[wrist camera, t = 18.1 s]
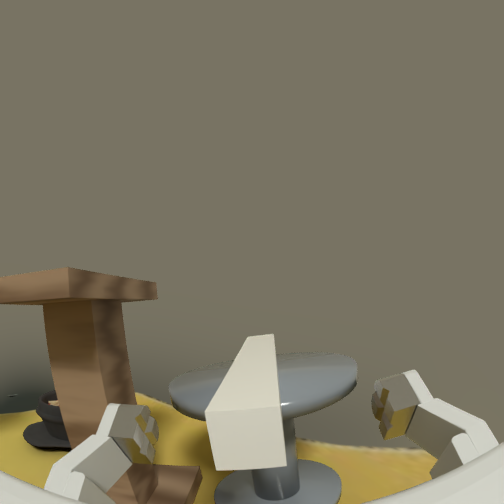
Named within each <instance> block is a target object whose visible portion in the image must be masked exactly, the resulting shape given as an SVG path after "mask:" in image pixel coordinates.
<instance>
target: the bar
mask: <svg viewBox="0 0 504 504" xmlns="http://www.w3.org/2000/svg"><path fill="white" fill-rule="evenodd" d="M205 417H206V423H207V428H208V433H209V438H210V443H211V448H212V453H213V458H214V462H215V467H216V470H247V469H262V468H273V467H283V466H287V462H286V451H285V440H284V430H283V419H282V409H281V399H280V389H279V379H278V369H277V359H276V351H275V342H274V335H273V334H268V335H261V336H251V337H247V339H246V341H245V343H244V344H243V346H242V348H241V350H240V352H239V353H238V355H237V357H236V359H235V360H234V362H233V364H232V366H231V367H230V369H229V371H228V372H227V374H226V376H225V378H224V379H223V381H222V383H221V385H220V386H219V388H218V390H217V391H216V393H215V395H214V397H213V398H212V400H211V402H210V403H209V405H208V407H207V408H206V410H205Z"/></svg>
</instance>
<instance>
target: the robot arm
mask: <svg viewBox="0 0 504 504" xmlns="http://www.w3.org/2000/svg"><path fill="white" fill-rule="evenodd" d="M374 388H375V390H376V392H375V393H374V394H373V395H372V401H371V402H372V410H373V414H374V416H375V418H376V419H377V420H379V421H380V425H379V429H380V432H381V434H382V437H383V439H384V440H388V439H392V438H395V437H398V436H402V435H405V434H406V435H405V436H406V437H408V438H409V439H410V440H412V441H413V442H414V443H416V444H417V445H419V446H420V447H421V448H423V449H424V450H426V451H427V452H428V453H430V454H431V455H433V456H434V457H435V458H437V459H438V461H437V462H436V463H435V465H434V466H433V468H432V469H431V471H430V474H431V477H432V480H429V481H427V482H424V483H422V484H419V485H417V486H414V487H412V488H409V489H406V490H404V491H401V492H398V493H395V494H392V495H389V496H386V497H383V498H379V499H376V500H373V501H369V502H365V503H362V504H504V442H502V443H501V444H498V442H497V440H496V439H495V437H494V435H493V434H492V432H491V431H490V429H489V428H488V426H487V424H486V422H485V421H484V420H482V419H480V418H478V417H475V416H473V415H471V414H469V413H467V412H465V411H463V410H461V409H459V408H457V407H454V406H452V405H450V404H448V403H446V402H444V401H442V400H440V399H438V398H436V399H433V397H432V395H431V394H430V392H429V390H428V389H427V387H426V385H425V384H424V382H423V381H422V379H421V377H420V376H419V374H418V373H417V371H416V370H411V371H407V372H404V373H400V374H396V375H393V376H389V377H385V378H382V379H378V380H377V381H376V382H375V385H374ZM150 412H151V411H150V410H149V408H148V406H143V405H128V404H115V403H110V404H109V405H108V406H107V407H106V410H105V412H104V415H103V417H102V420H101V422H100V425H99V427H98V430H97V433H96V435H91V436H90V437H89V438H87V439H86V440H85V441H84V442H82V443H81V444H80V445H78V446H77V447H76V448H74V449H73V450H72V451H70V452H69V453H68V454H66V455H65V456H64V457H63V458H61V459H60V460H59V461H57V462H56V463H55V464H53V466H52V469H51V471H50V474H49V476H48V479H47V482H46V484H45V487H44V489H42V488H39V487H37V486H34V485H32V484H29V483H27V482H25V481H22V480H20V479H18V478H16V477H13V476H11V475H9V474H7V473H5V472H3V471H1V470H0V504H116V503H115V501H114V500H113V499H112V498H110V497H109V496H108V495H107V494H106V492H107V491H108V490H109V489H110V488H111V487H112V486H113V485H114V484H115V483H116V482H117V480H118V479H119V478H120V477H121V476H122V475H123V474H124V473H125V472H126V471H127V469H128V468H129V467H130V466H131V465H132V463H140V464H153V460H154V455H155V449H154V447H153V445H154V444H155V443H156V442H157V441H158V436H159V430H158V425H157V422H156V420H155V419H154V418H153V417H151V416H150Z"/></svg>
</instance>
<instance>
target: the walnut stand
mask: <svg viewBox="0 0 504 504" xmlns="http://www.w3.org/2000/svg"><path fill="white" fill-rule="evenodd" d="M154 299H158V298H157V288H156V283H155V282H149V281H143V280H137V279H131V278H125V277H119V276H113V275H107V274H102V273H96V272H90V271H85V270H80V269H75V268H69V267H65V268H58V269H52V270H46V271H38V272H32V273H25V274H18V275H12V276H5V277H0V304H17V305H18V304H19V305H43V312H44V322H45V331H46V339H47V346H48V352H49V358H50V364H51V370H52V375H53V380H54V385H55V390H56V394H57V399H58V403H59V407H60V411H61V415H62V418H63V422H64V425H65V429H66V432H67V435H68V439H69V442H70V445H71V448H72V450H73V449H74V448H76V447H77V446H78V445H80V444H81V443H82V442H84V441H85V440H86V439H87V438H89V437H90V436H91V435H96V433H97V430H98V427H99V425H100V422H101V420H102V417H103V415H104V412H105V410H106V407H107V406H108V405H109V404H110V403H115V404H128V405H137V402H136V397H135V392H134V387H133V382H132V377H131V371H130V365H129V359H128V353H127V346H126V339H125V331H124V324H123V315H122V306H121V302H133V301H143V300H154ZM201 481H202V474H201V470H200V466H172V465H156V464H140V463H132V465H131V466H130V467H129V468H128V469H127V471H126V472H125V473H124V474H123V475H122V476H121V477H120V478H119V479H118V480H117V482H116V483H115V484H114V485H113V486H112V487H111V488H110V489H109V490H108V491H107V492H106V494H107V495H108V496H109V497H110V498H112V499H113V500H114V501H115V503H116V504H193V502H194V500H195V497H196V494H197V491H198V489H199V486H200V483H201Z"/></svg>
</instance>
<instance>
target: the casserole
mask: <svg viewBox="0 0 504 504" xmlns="http://www.w3.org/2000/svg"><path fill="white" fill-rule="evenodd" d="M36 413H37V414H38V415H39V416H40V417H41V418H42V420H43V421H42V422H37V423H34V424H31V425H29V426H28V427H27V428H26V429H25V430H24V432H23V437H24V439H25V440H26V441H27V442H28V443H30V444H31V445H34V446H37V447H64V448H71V445H70V442H69V439H68V435H67V432H66V429H65V425H64V422H63V418H62V415H61V411H60V407H59V403H58V399H57V394H56V390H54V391H51V392H48V393H45V394H43V395H41V396H40V397H39V400H38V407H37V409H36Z"/></svg>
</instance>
